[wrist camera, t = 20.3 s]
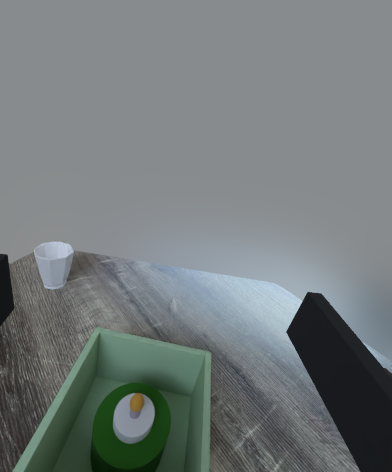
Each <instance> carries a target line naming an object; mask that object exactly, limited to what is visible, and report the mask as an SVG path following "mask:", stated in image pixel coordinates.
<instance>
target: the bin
mask: <svg viewBox="0 0 392 472" xmlns="http://www.w3.org/2000/svg"><path fill="white" fill-rule="evenodd" d="M129 383H144V384H148V385H150V386H152V387H154V388H155V389H157V390H158V391H159V392H160V393H161V394H162V395H163V397H164V398H165V400H166V401H167V404H168V406H169V410H170V415H171V426H170V432H169V436H168V439H167V442H166V445H165V448H164V451H163V454H162V457H161V460H160V463H159V466H158V467H157V469H156V471H155V472H210V405H211V352H209V351H204V350H199V349H195V348H190V347H186V346H181V345H177V344H172V343H167V342H163V341H158V340H154V339H149V338H145V337H140V336H136V335H131V334H127V333H122V332H117V331H113V330H108V329H104V328H99V327H96V328H95V330H94V331H93V333H92V335H91V337H90V338H89V340H88V342H87V344H86V345H85V347H84V349H83V350H82V352H81V354H80V356H79V357H78V359H77V361H76V363H75V364H74V366H73V368H72V370H71V371H70V373H69V375H68V376H67V378H66V380H65V382H64V383H63V385H62V387H61V389H60V390H59V392H58V394H57V396H56V397H55V399H54V401H53V402H52V404H51V406H50V408H49V409H48V411H47V413H46V415H45V416H44V418H43V420H42V421H41V423H40V425H39V427H38V428H37V430H36V432H35V434H34V435H33V437H32V439H31V441H30V442H29V444H28V446H27V447H26V449H25V451H24V453H23V454H22V456H21V458H20V460H19V461H18V463H17V465H16V467H15V468H14V470H13V472H93V471H92V467H91V461H90V459H91V441H92V428H93V422H94V417H95V414H96V412H97V409H98V407H99V406H100V404H101V402H102V401H103V400H104V399H105V397H106V396H107V395H108V394H109V393H111V392H112V391H113V390H115V389H116V388H118V387H120V386H122V385H125V384H129Z"/></svg>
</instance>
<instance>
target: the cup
mask: <svg viewBox="0 0 392 472" xmlns="http://www.w3.org/2000/svg"><path fill="white" fill-rule="evenodd" d="M33 251H34V255H35V258H36V262H37V265H38V269H39V272H40V275H41V278H42V280H43V284H44V287H45V288H48V289H52V290H54V289H58V288H62V287H63V286H64V285H65V284H66V283H67V281H66V279H67V278H68V275H69V272H70V269H71V264H72V259H73V254H74V250H73V248H72V247H71V245H70V244H66V243H62V242H59V241H56V242H48V243H42V244H40V245H39V246H37V247H36V248H34V249H33Z"/></svg>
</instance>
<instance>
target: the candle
mask: <svg viewBox="0 0 392 472" xmlns="http://www.w3.org/2000/svg"><path fill="white" fill-rule="evenodd" d="M170 426H171V415H170V410H169V406H168V404H167V401H166V400H165V398H164V397H163V395H162V394H161V393H160V392H159V391H158V390H157V389H155V388H154V387H152V386H150V385H148V384H144V383H129V384H125V385H122V386H120V387H118V388H116V389H115V390H113V391H112V392H111V393H109V394H108V395H107V396H106V397H105V399H104V400H103V401H102V402H101V404H100V406H99V407H98V409H97V412H96V414H95V417H94V422H93V428H92V441H91V459H90V461H91V467H92V471H93V472H155V471H156V469H157V467H158V466H159V463H160V460H161V457H162V454H163V451H164V448H165V445H166V442H167V439H168V436H169V432H170Z"/></svg>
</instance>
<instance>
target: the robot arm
mask: <svg viewBox="0 0 392 472" xmlns="http://www.w3.org/2000/svg"><path fill="white" fill-rule="evenodd" d="M13 309H14V301H13V294H12V286H11V278H10V270H9V263H8V256H7V255H5V254H0V326H1V325H2V324H3V322H4V321H5V320H6V319H7V317H8V316H9V315H10V313H11V312H12V311H13ZM287 334H288V336H289V338H290V340H291V342H292V344H293V346H294V347H295V349H296V351H297V353H298V355H299V357H300V359H301V361H302V362H303V364H304V366H305V368H306V370H307V372H308V374H309V376H310V377H311V379H312V381H313V383H314V385H315V387H316V389H317V391H318V392H319V394H320V396H321V398H322V400H323V402H324V404H325V406H326V408H327V409H328V411H329V413H330V415H331V417H332V419H333V421H334V423H335V424H336V426H337V428H338V430H339V432H340V434H341V436H342V438H343V439H344V441H345V443H346V445H347V447H348V449H349V451H350V453H351V454H352V456H353V458H354V460H355V462H356V464H357V466H358V468H359V470H360V471H361V472H392V374H391V373H390V372H389V371H388V370H387V369H386V368H383V367H382V366H381V364H380V363H379V362H378V361H377V360H376V358H375V357H374V356H373V355H372V354H371V352H370V351H369V350H368V349H367V348H366V346H365V345H364V344H363V343H362V342H361V340H360V339H359V338H358V337H357V336H356V334H355V333H354V332H353V331H352V330H351V329H350V327H349V326H348V325H347V324H346V322H345V321H344V320H343V319H342V318H341V317H340V315H339V314H338V313H337V312H336V311H335V310H334V308H333V307H332V306H331V305H330V303H329V302H328V301H327V300H326V299H325V297H324V296H323V295H322V294H320V293H312V292H308V293H307V294H306V296H305V298H304V300H303V302H302V304H301V306H300V307H299V309H298V311H297V313H296V315H295V317H294V319H293V320H292V322H291V324H290V326H289V328H288V330H287Z"/></svg>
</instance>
